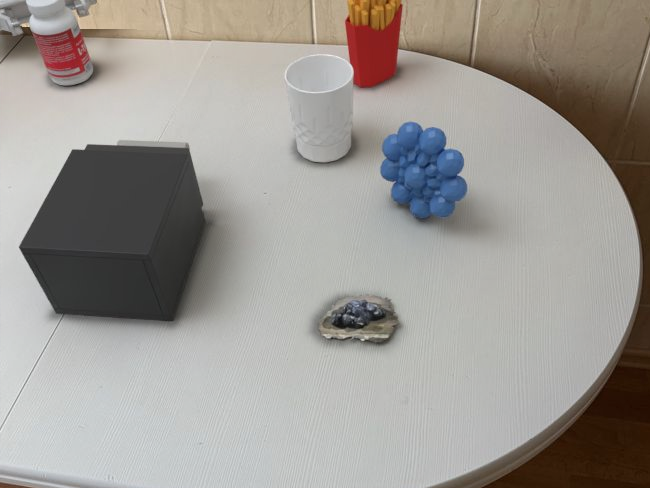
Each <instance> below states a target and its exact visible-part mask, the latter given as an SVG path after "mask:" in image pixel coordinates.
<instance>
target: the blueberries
mask: <svg viewBox="0 0 650 488" xmlns="http://www.w3.org/2000/svg"><path fill="white" fill-rule="evenodd" d="M391 301H392V298H389V297H387V296H385V297H384V298H383V297H381V296H377V295H374V294H373V295H372V294H371V295H370V294H367V295H362V294H361V295H358V296H357V295H352V296H347V297H345V298H344V297H343V298H342V299H338V300H337V301H336V303H335V304H332V305H331V308H330V309H329V310H327V311H326V313H324V315H323V316H322V317H320V318H319V320H318V322H317V328H318V329H317V331H318V332H320V335H321V336H323V337H324V338H326V339H329V340H330V339H331V338H333V339H335V338H336V339H338V340H344V339H346V338H350V339H349V340H350V341H351V340H353V339H354V338H355V339H360V341H362V342H364V341H367V340H368V341H370V342H373V343H375V344H377V343H383V342H385V341H387V340H389V337H390V336H391V335H393V332H394V330H395V327H394V326H396V325H398V323H399V322H400V321H399V319H398V316H395V314H396V313H397V311H395V309H394V308H393V309H392V308H391V307H390V306H391V305H392V302H391Z"/></svg>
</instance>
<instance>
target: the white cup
mask: <svg viewBox="0 0 650 488" xmlns="http://www.w3.org/2000/svg"><path fill="white" fill-rule="evenodd" d="M283 77H284V83H285V90H286V95H287V103H288V109H289V113H290V118H291V124H292V127H293V128H292V129H293V131H294V136H295V143H296V148H297V152H298V153H299V154H300V155H301V157H303V159H306V160H308V161H311V162H315V163H329V162H334V161H337V160H340V159H341V158H343V157H344V156H346V155H347V154H348V152H349V151H350V149H351V148H352V127H353V119H354V118H353V117H354V70H353V67H352V65H351V64H350V61H348V60H347V59H345V58H343V57H341V56H338V55H334V54H329V53H315V54H309V55H306V56H305V55H304V56H302V57H300V58H297V59H296V60H294V61H292V62H291V63H290V64H288V66H287V67H286V69H285V71H284V76H283Z"/></svg>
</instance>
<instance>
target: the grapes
mask: <svg viewBox="0 0 650 488" xmlns="http://www.w3.org/2000/svg"><path fill="white" fill-rule="evenodd" d="M446 146H447V135H446V133H445V131H443V130H442V129H441V128H438V127H434V126H431V127H427V128H425V129H423V127H422V126H421V125H420V124H419V123H418V122H414V121H407V122H404V123H402V124H401V125H400V126H399V128H398V130H397V132H396V133H392V134H388V135H387V136H386V138H384V139H383V142H382V145H381V152H382V154H383V156H384V157H385V158H384V159H383V160H382V161H381V164H380V168H379V169H380V171H379V172H380V176H381V178H382V179H383V180H385V181H386V182H390V183H393V184H392V186H391V189H390V197H391V198H392V200H393V201H394V202H396V203H397V204H399V205H406V204H409V211H410V213H411V214H412V215H413V216H414V217H416V218H419V219H425V218H429V217H430V216H431V215H433V216H435V217H436V218H440V219H443V218H448V217H450V216H451V215H452V214H453V213H454V211H455V209H456V203H457V202H461V200H463V199H464V198H465V197H466V195H467V192H468V184H467V181H466V180H465V178H464V177H463V176H461V175H459V174H461V172H462V171H463V169H464V167H465V158H464V156H463V153H462V152H460V151H459V150H458V149H454V148H447V149H446Z"/></svg>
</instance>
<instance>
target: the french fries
mask: <svg viewBox="0 0 650 488" xmlns="http://www.w3.org/2000/svg"><path fill="white" fill-rule="evenodd" d="M346 2H347V10H348V15H347V16H346V18H345V20H344V25H345V32H346V41H347V49H348V51H347V52H348V58H349V63H350V64H351V65H352V67H353V70H354V82H353V84H355V85H357V86H358V87H359V88H372V87H374V86H377V85H379V84H381V83H383V82H385V81H387V80H389V79H391V78H393V77H394V76H395V74H396V71H397V64H398V55H399V44H400V35H401V25H402V16H403V7H404V5H403V3H402V0H347V1H346Z"/></svg>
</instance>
